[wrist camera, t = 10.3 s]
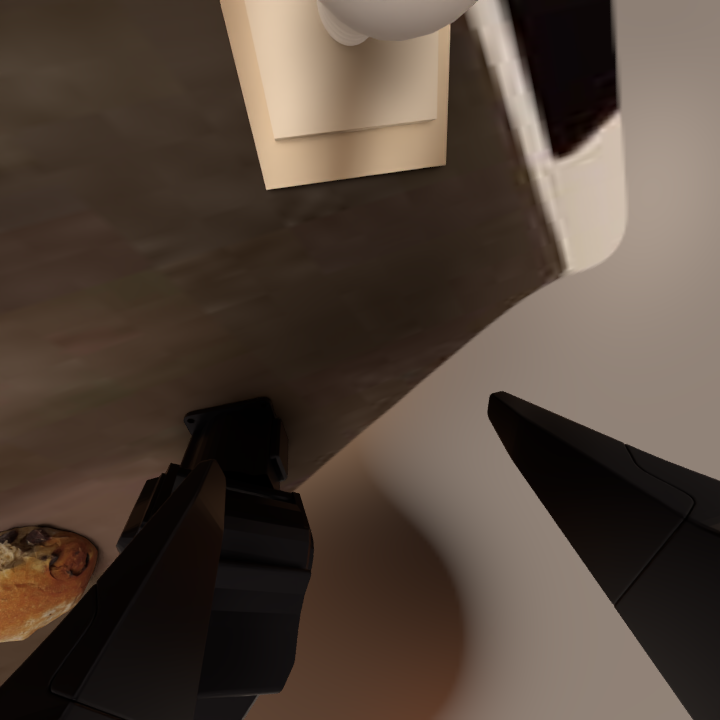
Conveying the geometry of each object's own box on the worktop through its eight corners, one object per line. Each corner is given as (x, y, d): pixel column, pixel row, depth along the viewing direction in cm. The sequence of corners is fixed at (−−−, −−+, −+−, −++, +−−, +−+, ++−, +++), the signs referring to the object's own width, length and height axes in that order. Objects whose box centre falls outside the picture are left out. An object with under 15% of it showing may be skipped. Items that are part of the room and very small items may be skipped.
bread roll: (-9, 521, 30) (-99, 629, 24) (-13, 511, 23) (-135, 652, 18) (103, 544, 34) (47, 638, 29) (123, 541, 28) (57, 660, 23)
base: (267, 189, 17) (265, 190, 15) (169, -213, 10) (145, -290, 9) (438, 165, 18) (453, 164, 16) (446, -215, 11) (474, -284, 10)
